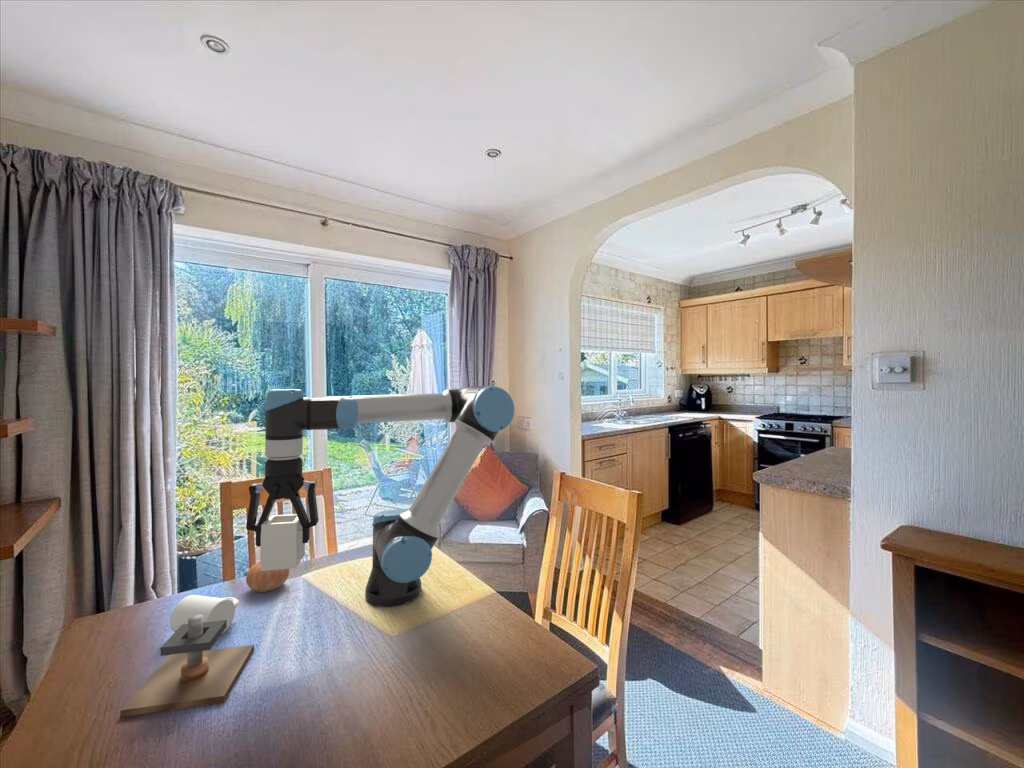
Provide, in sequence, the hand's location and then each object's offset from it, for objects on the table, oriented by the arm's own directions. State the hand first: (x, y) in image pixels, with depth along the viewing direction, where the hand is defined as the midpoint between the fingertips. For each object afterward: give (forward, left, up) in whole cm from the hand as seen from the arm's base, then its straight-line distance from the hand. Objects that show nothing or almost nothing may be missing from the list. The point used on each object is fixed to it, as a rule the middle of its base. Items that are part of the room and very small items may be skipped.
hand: (283, 558), depth 98 cm
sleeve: (0, 0, -1) cm, 1 cm away
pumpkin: (+11, -29, -19) cm, 36 cm away
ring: (+13, +10, -11) cm, 20 cm away
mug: (+18, -10, -19) cm, 28 cm away
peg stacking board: (+13, +10, -19) cm, 25 cm away
